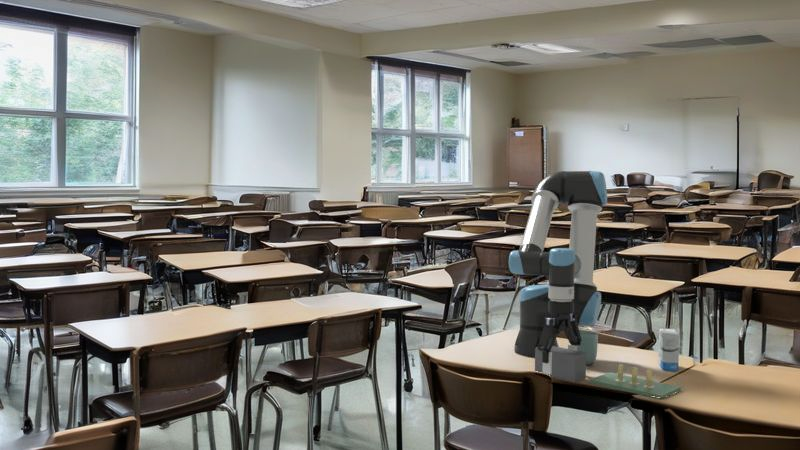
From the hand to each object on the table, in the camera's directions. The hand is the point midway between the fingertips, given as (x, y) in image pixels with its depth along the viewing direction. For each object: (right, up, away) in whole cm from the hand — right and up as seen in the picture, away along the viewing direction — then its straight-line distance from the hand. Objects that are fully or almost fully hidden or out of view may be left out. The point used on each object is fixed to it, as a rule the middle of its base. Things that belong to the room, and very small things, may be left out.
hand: (559, 369), depth 214 cm
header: (+19, -3, -10) cm, 22 cm away
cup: (+12, -1, +16) cm, 20 cm away
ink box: (+37, -2, +11) cm, 39 cm away
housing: (0, -2, 0) cm, 2 cm away
